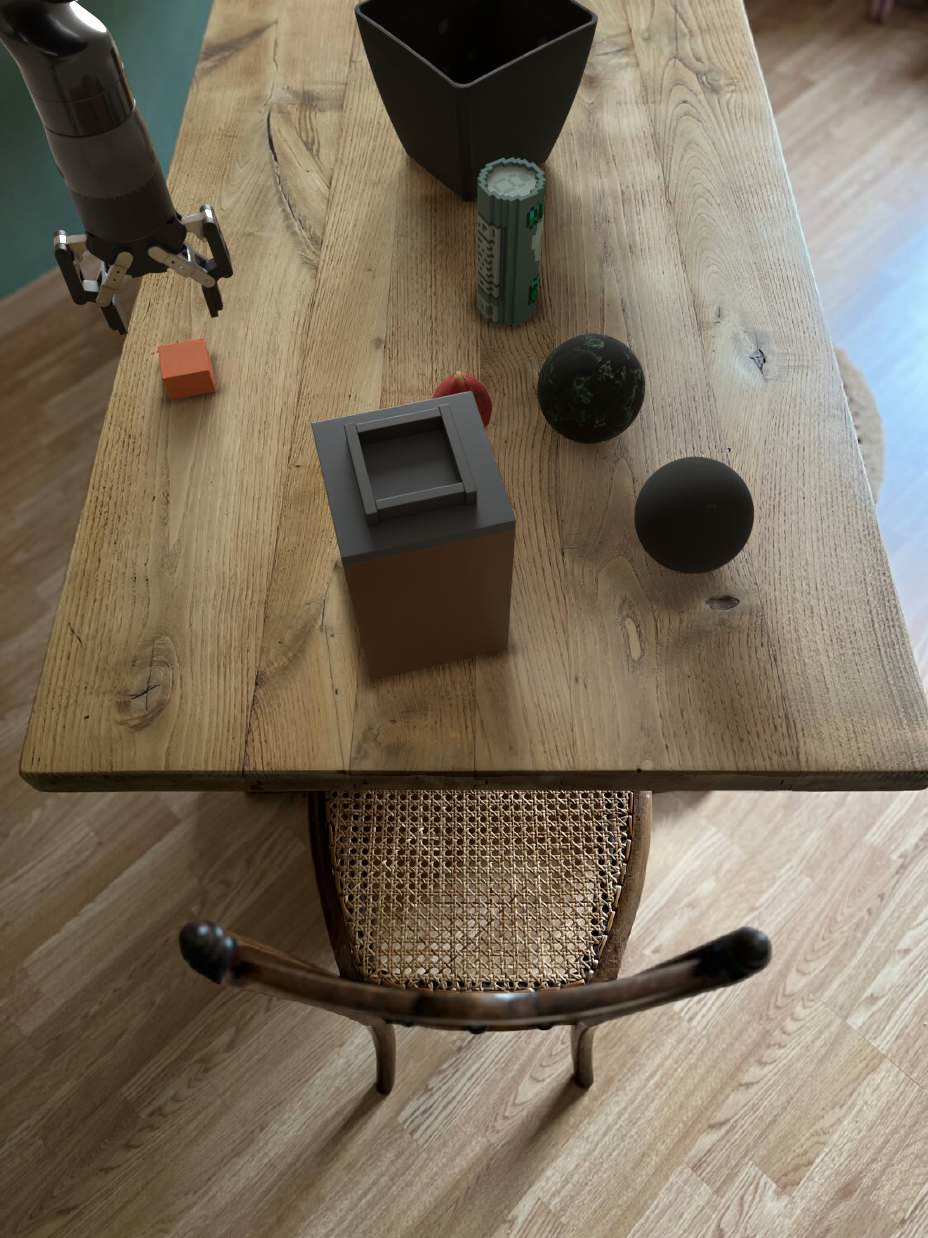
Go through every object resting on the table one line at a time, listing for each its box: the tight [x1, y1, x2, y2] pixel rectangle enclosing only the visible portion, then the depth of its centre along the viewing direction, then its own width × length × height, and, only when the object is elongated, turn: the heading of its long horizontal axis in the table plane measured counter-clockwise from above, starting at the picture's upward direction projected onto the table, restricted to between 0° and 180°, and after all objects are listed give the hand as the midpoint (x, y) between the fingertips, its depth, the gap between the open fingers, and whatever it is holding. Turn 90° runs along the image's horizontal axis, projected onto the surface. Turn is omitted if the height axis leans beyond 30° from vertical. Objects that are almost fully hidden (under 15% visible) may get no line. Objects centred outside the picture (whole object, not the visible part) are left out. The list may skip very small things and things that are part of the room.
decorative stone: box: [536, 332, 646, 445], centre depth 86 cm, size 10×10×10 cm
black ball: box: [633, 456, 755, 575], centre depth 79 cm, size 10×10×10 cm
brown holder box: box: [310, 391, 517, 682], centre depth 72 cm, size 12×12×20 cm
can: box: [476, 157, 547, 327], centre depth 92 cm, size 6×6×15 cm
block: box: [157, 337, 217, 401], centre depth 93 cm, size 5×5×3 cm
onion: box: [431, 370, 493, 429], centre depth 86 cm, size 6×6×8 cm
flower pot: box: [353, 0, 599, 203], centre depth 103 cm, size 19×19×17 cm
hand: (169, 319), depth 87 cm, fingers open, 8 cm apart
